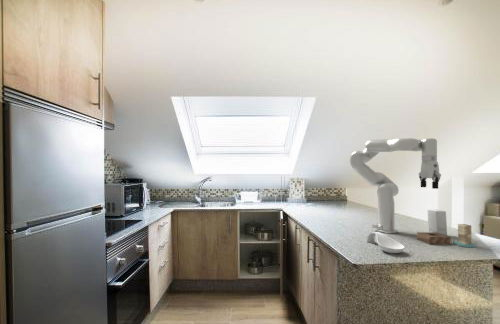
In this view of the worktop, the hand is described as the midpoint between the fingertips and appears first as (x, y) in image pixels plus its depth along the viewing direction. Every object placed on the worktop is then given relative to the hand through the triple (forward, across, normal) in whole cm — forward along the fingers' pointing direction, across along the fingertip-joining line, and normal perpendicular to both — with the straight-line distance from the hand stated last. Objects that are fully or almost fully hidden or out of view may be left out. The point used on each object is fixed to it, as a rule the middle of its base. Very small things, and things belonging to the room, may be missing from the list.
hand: (429, 187), depth 156 cm
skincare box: (+30, +7, -10) cm, 33 cm away
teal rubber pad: (+30, -14, -9) cm, 34 cm away
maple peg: (+29, -14, -10) cm, 34 cm away
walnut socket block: (+30, -7, +3) cm, 31 cm away
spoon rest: (+31, -18, +38) cm, 52 cm away
